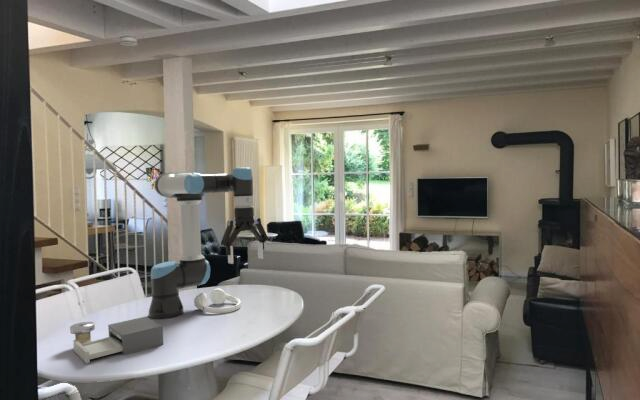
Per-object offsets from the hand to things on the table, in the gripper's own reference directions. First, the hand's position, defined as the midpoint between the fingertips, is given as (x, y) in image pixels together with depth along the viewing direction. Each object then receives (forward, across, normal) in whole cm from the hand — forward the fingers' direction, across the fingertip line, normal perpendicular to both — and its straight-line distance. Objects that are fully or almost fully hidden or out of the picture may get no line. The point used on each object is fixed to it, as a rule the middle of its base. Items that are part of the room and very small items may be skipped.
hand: (246, 260), depth 177 cm
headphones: (+28, +9, +39) cm, 49 cm away
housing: (+28, -37, +19) cm, 50 cm away
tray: (+28, -49, +19) cm, 60 cm away
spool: (+28, -52, +31) cm, 67 cm away
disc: (+22, -52, +31) cm, 65 cm away
